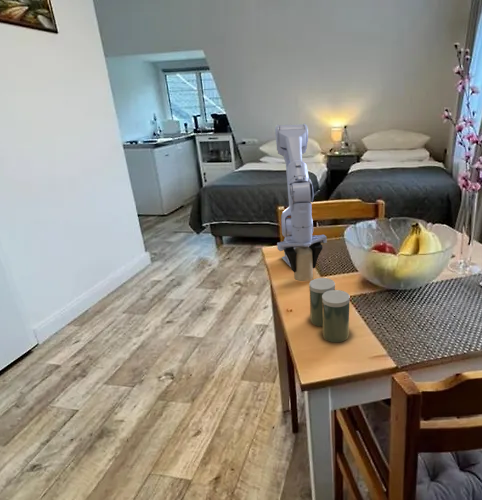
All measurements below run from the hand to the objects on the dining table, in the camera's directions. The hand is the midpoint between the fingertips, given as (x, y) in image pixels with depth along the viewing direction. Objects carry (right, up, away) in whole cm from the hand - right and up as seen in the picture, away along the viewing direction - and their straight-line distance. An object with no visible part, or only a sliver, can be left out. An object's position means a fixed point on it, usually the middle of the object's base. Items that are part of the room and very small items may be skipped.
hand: (303, 268), depth 113 cm
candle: (0, -3, +1) cm, 3 cm away
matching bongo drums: (+6, -13, -22) cm, 26 cm away
